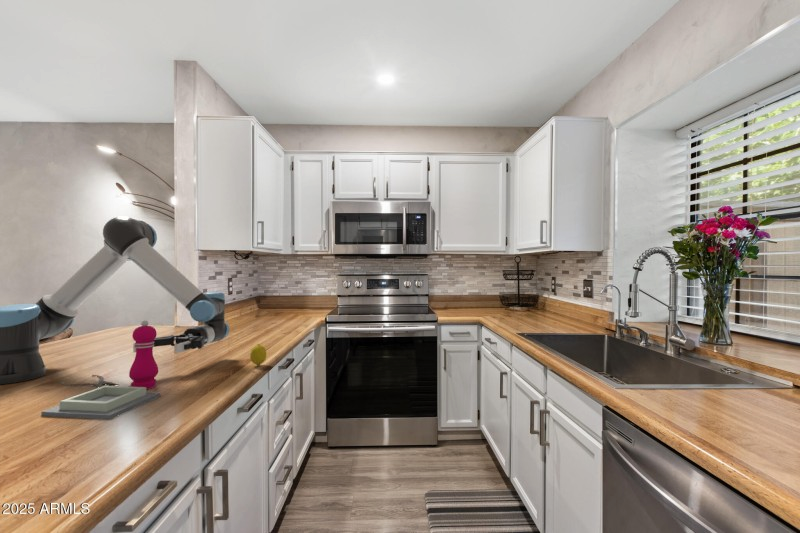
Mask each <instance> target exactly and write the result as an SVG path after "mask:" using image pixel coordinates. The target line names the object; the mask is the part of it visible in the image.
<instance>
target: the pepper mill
mask: <svg viewBox="0 0 800 533" xmlns="http://www.w3.org/2000/svg"><path fill="white" fill-rule="evenodd" d="M140 325H141V326H138V327H136V328H135V329H134V330H133V332H132V335H131V336H132V339H133V341H134V343H133V344H135V346H134V348H136V352H135V356H134V360H133V362H132V364H131V367H130V369H129V373H128V374H129V375H128V376H129V378H130V379H131V380H132V381H131V382H130V387H146V390H150V389H152V387H153V388H156V386H157V379H156V377H157V376H158V374H159V367H158V364H157V361H156V360H155V357H154V355H153V351H154V350H153V348H154V347H153V346H154V341H153V340H154V339H155V338H157V330H156V328H155V327H154V326H150V325H149V322H148V320H143V321H142V322H141V324H140ZM149 388H150V389H149Z"/></svg>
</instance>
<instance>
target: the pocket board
mask: <svg viewBox="0 0 800 533" xmlns="http://www.w3.org/2000/svg"><path fill="white" fill-rule="evenodd" d="M160 397H161V392H151V391H150V392H148V391H147V389H146V387H131V386H127V385H126V386H124V385H123V386H122V385H119V386H109V385H105V386H102V387H99V388H97V387H96V388H94V389H90V390H88V391H86V392H82V393H79V394H78V395H74V396H70V397H68V398H66V399H62V400H59V405H56V406H54V407H53V406H52V407H51V408H48V409H45V410H42V411H41V415H40V416H42V417H55V418H59V417H60V418H75V419H76V418H78V419H92V418H93V419H95V420H97V419H98V420H99V419H100V420H112V419H114V418H117V417H118V415H119V416H120V415H123V414H125V413H127V412H129V411H131V410H134V409H136V408H138V407H140V405H141V406H142V404H143V405H144V403H145V404H146V403H149V402H152V401H153V400H155V399H158V398H160ZM111 418H112V419H111Z"/></svg>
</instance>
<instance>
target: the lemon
mask: <svg viewBox="0 0 800 533" xmlns="http://www.w3.org/2000/svg"><path fill="white" fill-rule="evenodd" d="M250 360H251V362H252V363H253V364H255V365H256V366H257V367H260V365H262V364H263V363H264V362H265V361H266V360H267V349H266V348H265V346H264V345H261V344H260V343H259V344H256V345H255V346H253V347H252V349H251V351H250Z"/></svg>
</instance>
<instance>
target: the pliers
mask: <svg viewBox="0 0 800 533" xmlns="http://www.w3.org/2000/svg"><path fill="white" fill-rule="evenodd" d="M91 376H92V377H93V376H97V377H96V378H99V380H98V382H94V383H93V382H91V383H89V382H86V383H85V382H84V383H71V382H70V383H69V382H64V381H61V382H60V384H61V385H63V384H64V385H65V386H72V385H73V386H75V387H77V386H90V385H93V386H92V387H95V386H96V387H95V388H97V387H102V386H106V385H105V384H109V385H119V384H118V383H115V382H113V381H112V382H111V381H107V380H104V376H102V375H97V374H92V375H91ZM109 385H108V386H109ZM119 386H120V385H119Z"/></svg>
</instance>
